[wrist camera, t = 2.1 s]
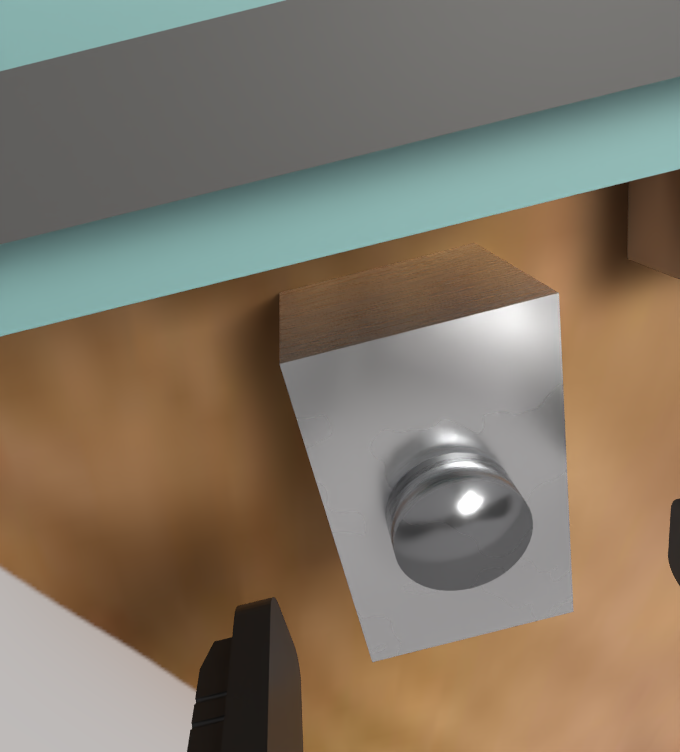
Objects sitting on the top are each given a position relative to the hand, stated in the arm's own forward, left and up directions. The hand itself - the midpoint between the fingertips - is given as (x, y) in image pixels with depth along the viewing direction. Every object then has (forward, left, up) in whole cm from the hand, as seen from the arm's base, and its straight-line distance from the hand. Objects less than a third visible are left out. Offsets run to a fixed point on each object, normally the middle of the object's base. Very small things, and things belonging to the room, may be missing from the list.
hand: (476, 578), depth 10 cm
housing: (0, 0, -7) cm, 7 cm away
